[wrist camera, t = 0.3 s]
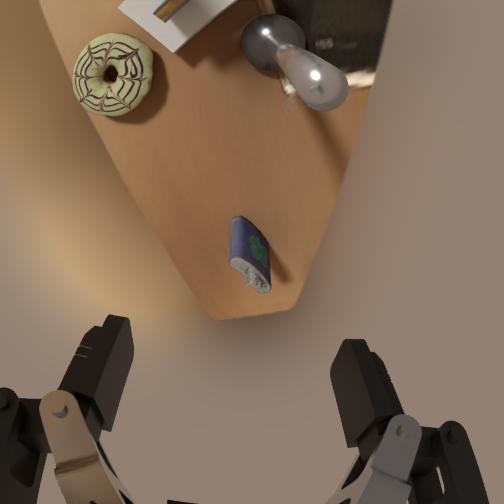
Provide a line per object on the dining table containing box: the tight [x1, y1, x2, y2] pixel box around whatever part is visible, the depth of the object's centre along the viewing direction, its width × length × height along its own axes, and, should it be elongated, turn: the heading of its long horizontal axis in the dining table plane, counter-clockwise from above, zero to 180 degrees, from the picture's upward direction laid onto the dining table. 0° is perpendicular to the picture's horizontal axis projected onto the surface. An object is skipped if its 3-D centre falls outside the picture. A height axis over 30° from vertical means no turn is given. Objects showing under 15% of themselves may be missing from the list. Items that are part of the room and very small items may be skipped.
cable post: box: [241, 14, 349, 111], centre depth 18 cm, size 7×7×24 cm
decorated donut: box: [73, 33, 153, 116], centre depth 27 cm, size 10×11×4 cm
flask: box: [229, 216, 271, 293], centre depth 44 cm, size 9×3×11 cm, turn 33°
